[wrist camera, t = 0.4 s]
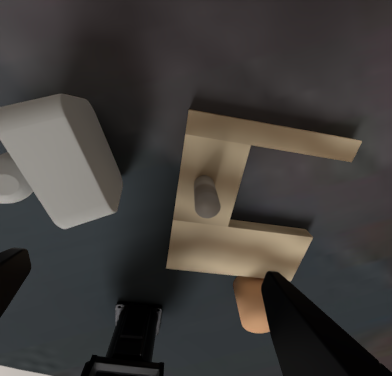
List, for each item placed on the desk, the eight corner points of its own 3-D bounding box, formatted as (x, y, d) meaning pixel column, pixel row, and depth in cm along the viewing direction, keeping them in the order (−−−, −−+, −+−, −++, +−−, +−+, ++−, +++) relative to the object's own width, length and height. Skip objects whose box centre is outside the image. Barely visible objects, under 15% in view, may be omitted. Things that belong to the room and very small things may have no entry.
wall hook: (-25, 128, 17) (-200, 146, 8) (94, 100, 19) (53, 90, 10) (28, 205, 21) (-57, 277, 12) (125, 176, 22) (115, 219, 13)
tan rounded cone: (262, 297, 29) (276, 334, 24) (229, 294, 28) (236, 331, 24) (273, 272, 27) (290, 307, 22) (238, 268, 26) (248, 304, 22)
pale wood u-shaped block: (285, 271, 27) (310, 315, 21) (167, 258, 25) (161, 303, 20) (349, 138, 19) (412, 153, 14) (188, 109, 18) (188, 113, 12)
